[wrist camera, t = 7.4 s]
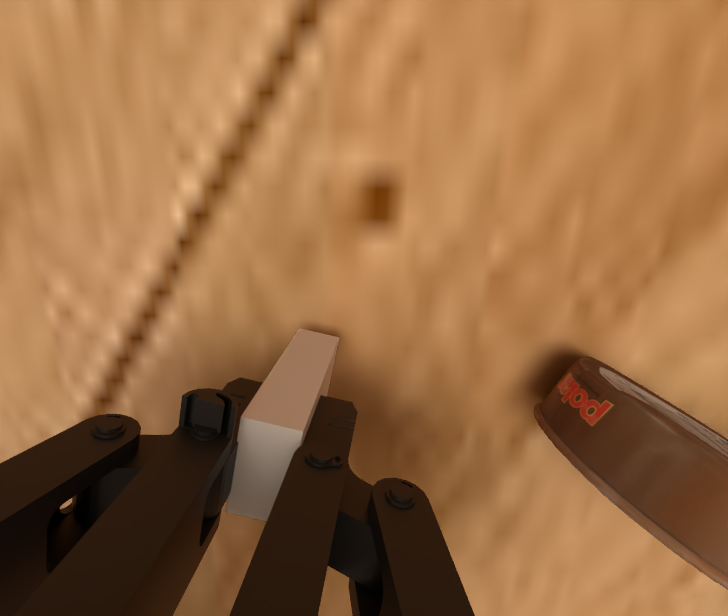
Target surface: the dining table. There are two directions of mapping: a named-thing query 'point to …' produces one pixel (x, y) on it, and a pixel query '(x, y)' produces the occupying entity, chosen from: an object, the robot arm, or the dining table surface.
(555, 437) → the tin
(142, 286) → the dining table surface
